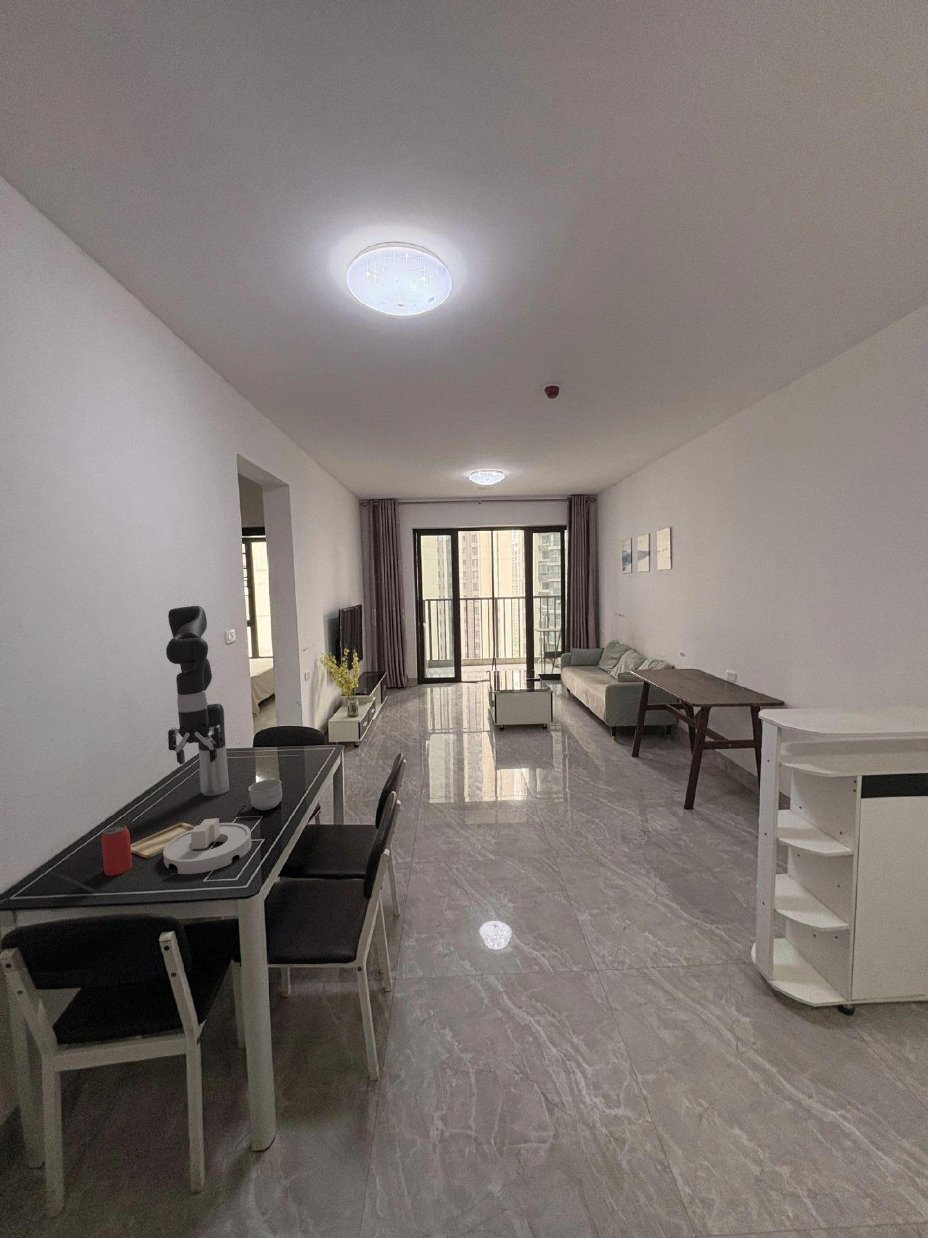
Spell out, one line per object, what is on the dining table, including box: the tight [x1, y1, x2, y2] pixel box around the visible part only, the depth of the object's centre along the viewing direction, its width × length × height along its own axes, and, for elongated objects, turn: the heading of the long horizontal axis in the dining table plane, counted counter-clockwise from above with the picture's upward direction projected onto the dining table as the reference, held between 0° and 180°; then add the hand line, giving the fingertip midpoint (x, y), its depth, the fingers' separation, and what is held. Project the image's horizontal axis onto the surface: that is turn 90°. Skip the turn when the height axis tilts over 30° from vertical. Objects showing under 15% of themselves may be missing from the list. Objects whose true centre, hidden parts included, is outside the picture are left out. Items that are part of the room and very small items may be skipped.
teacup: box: [247, 777, 283, 811], centre depth 192 cm, size 14×11×8 cm
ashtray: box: [162, 822, 253, 875], centre depth 160 cm, size 23×23×4 cm
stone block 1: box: [191, 824, 213, 850], centre depth 157 cm, size 4×4×5 cm
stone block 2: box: [199, 817, 220, 841], centre depth 161 cm, size 4×4×5 cm
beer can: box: [101, 824, 133, 876], centre depth 151 cm, size 7×7×12 cm
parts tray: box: [130, 821, 197, 859], centre depth 167 cm, size 12×18×1 cm, turn 150°
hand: (197, 762), depth 159 cm, fingers open, 8 cm apart
